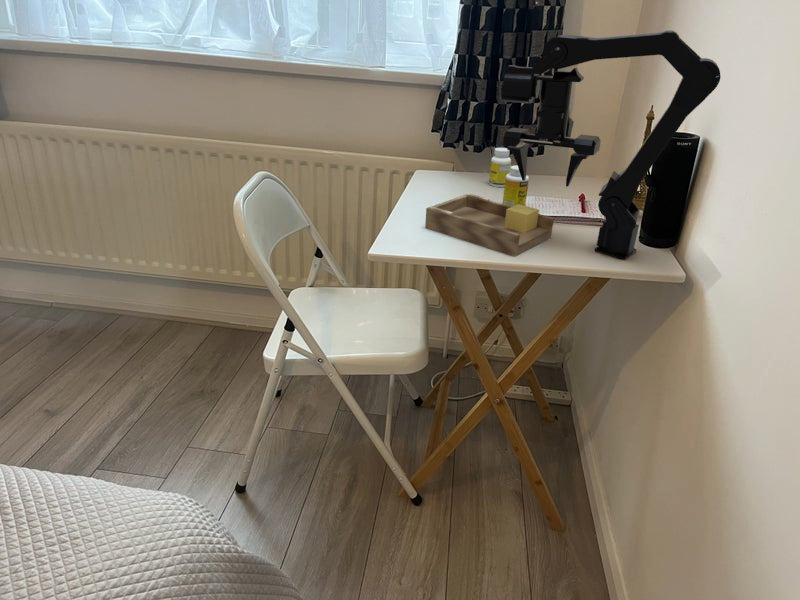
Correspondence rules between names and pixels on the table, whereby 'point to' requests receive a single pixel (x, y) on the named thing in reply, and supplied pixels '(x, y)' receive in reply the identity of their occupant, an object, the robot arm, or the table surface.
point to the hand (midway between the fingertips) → (545, 183)
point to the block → (521, 218)
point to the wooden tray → (485, 224)
